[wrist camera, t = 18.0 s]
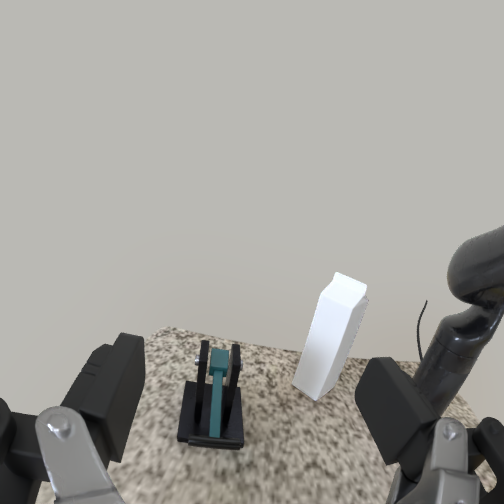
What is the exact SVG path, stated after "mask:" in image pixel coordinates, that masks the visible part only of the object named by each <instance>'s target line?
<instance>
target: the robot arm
mask: <svg viewBox="0 0 504 504" xmlns="http://www.w3.org/2000/svg"><path fill="white" fill-rule="evenodd" d="M447 281H448V286H449V289H450V291H451V293H452V294H453V295H454V296H455V297H456V298H457V299H459V300H460V301H462V302H465V303H469V304H472V306H471V307H470V308H469V309H467V310H466V311H464V312H461V313H458V314H454V315H449V316H446V317H444V318H443V319H442V320H441V322H440V324H439V326H438V328H437V330H436V333H435V335H434V337H433V339H432V341H431V343H430V345H429V347H428V350H427V352H426V354H425V356H424V358H423V357H422V353H421V347H420V340H419V324H420V320H421V317H422V314H423V312H424V310H425V308H426V305H427V301H426V303H425V306H424V308H423V310H422V312H421V314H420V317H419V320H418V325H417V342H418V350H419V355H420V360H421V363H420V365H419V367H418V369H417V371H416V373H415V375H414V376H413V378H411V377H410V376H409V375H408V374H406V373H405V372H404V371H402V370H401V369H400V367H399V366H398V365H397V364H396V362H395V361H394V360H393V359H392V358H391V357H380V358H379V357H378V358H372V359H370V361H369V362H368V364H367V366H366V369H365V371H364V373H363V375H362V377H361V379H360V381H359V383H358V385H357V387H356V390H355V402H356V404H357V406H358V408H359V410H360V412H361V414H362V416H363V418H364V420H365V422H366V424H367V426H368V429H369V431H370V433H371V435H372V437H373V439H374V441H375V443H376V445H377V447H378V449H379V451H380V453H381V455H382V458H383V460H384V462H385V464H386V466H387V465H390V464H394V463H397V462H399V464H400V466H399V467H398V468H397V470H396V472H395V476H394V479H393V482H392V486H391V489H390V492H389V495H388V498H387V501H386V504H504V426H503V425H502V424H501V423H500V422H499V421H498V420H497V419H495V418H491V417H486V418H484V419H483V420H482V421H481V422H480V424H479V425H478V426H477V427H476V428H465V427H464V425H463V424H462V423H461V422H459V421H458V420H456V419H454V418H450V417H444V418H441V416H442V414H443V413H444V411H445V410H446V409H447V407H448V406H449V404H450V403H451V401H452V400H453V398H454V397H455V395H456V394H457V392H458V391H459V389H460V388H461V386H462V384H463V383H464V381H465V380H466V378H467V376H468V374H469V373H470V371H471V369H472V367H473V366H474V364H475V362H476V360H477V358H478V357H479V354H480V353H481V351H482V349H483V348H484V346H485V345H486V344H487V343H488V342H489V341H490V340H491V338H492V337H493V335H494V333H495V331H496V329H497V327H498V325H499V323H500V321H501V319H502V317H503V315H504V225H503V226H501V227H499V228H497V229H495V230H493V231H490V232H487V233H484V234H482V235H479V236H476V237H473V238H471V239H469V240H467V241H465V242H464V243H463V244H462V245H461V246H460V247H459V248H458V249H457V250H456V252H455V254H454V255H453V257H452V259H451V261H450V264H449V267H448V272H447ZM144 383H145V352H144V338H143V337H141V336H136V335H131V334H126V333H120V335H119V336H118V338H117V339H116V341H115V343H114V345H113V346H112V345H108V344H104V345H102V346H100V347H99V348H97V349H96V350H94V351H93V352H92V354H91V356H90V357H89V359H88V360H87V363H86V364H85V365H84V367H83V368H82V370H81V372H80V373H79V375H78V377H77V378H76V380H75V381H74V383H73V385H72V386H71V388H70V390H69V391H68V393H67V395H66V396H65V398H64V400H63V402H62V403H61V405H60V406H55V407H50V408H47V409H46V410H44V411H43V412H41V413H40V414H39V416H35V415H28V414H22V413H15V412H11V411H10V409H9V407H8V405H7V403H6V402H5V401H4V400H3V399H2V398H0V504H35V502H36V499H37V495H38V492H39V488H40V485H41V482H42V481H46V482H51V484H52V487H53V490H54V492H55V496H56V500H54V504H125V502H124V501H123V499H122V497H121V496H120V494H119V492H118V491H117V489H116V487H115V486H114V484H113V482H112V480H111V478H110V476H109V475H108V473H107V469H108V465H109V462H110V460H111V461H115V462H118V463H121V460H122V456H123V453H124V449H125V446H126V442H127V439H128V435H129V432H130V429H131V425H132V422H133V419H134V416H135V413H136V409H137V406H138V403H139V400H140V397H141V394H142V391H143V388H144ZM485 459H486V461H487V462H488V464H489V466H490V467H491V469H492V471H493V472H494V474H495V476H496V478H497V484H496V486H495V488H494V489H493V490H491V491H490V492H489V493H488V492H486V491H485V489H484V487H483V485H482V483H481V482H480V479H479V476H477V474H476V473H475V471H474V470H475V469H476V468H477V467H478V466H479V465H480V464H481V463H482V462H483V461H484V460H485Z"/></svg>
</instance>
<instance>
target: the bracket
mask: <svg viewBox="0 0 504 504" xmlns="http://www.w3.org/2000/svg"><path fill="white" fill-rule="evenodd" d="M208 350H209V341H205V340H202V342H201V349H200V355H196V358H195V365H197V366H198V376H197V382H191V381H186V383H185V389H184V395H183V402H182V408H181V414H180V421H179V428H178V435H177V441H179V442H186V443H188V440H189V434H196V435H205V436H209V433H210V416H211V401H212V387H213V384H206V383H205V378H206V369H207V361H208ZM242 368H243V360H241V357H240V345H238V344H232V348H231V354H230V359H229V365H228V371H227V376H226V382H225V386H223V385H222V400H221V422H220V437H225V438H239V439H240V441H241V445H240V448H243V445H244V434H243V420H242V406H241V391H240V387H237V383H238V378H239V373H240V371H242Z"/></svg>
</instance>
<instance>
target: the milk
mask: <svg viewBox="0 0 504 504" xmlns="http://www.w3.org/2000/svg"><path fill="white" fill-rule="evenodd" d="M366 289H367V285H366V284H364V283H362V282H359V281H357V280H355V279H352V278H350V277H347V276H345V275H343V274H341V273H338V272H336V273H335V275H334V278H333V281H332V282H331V283H330V284H329V285H328V286H327V287H326V288H325V289H324V290H323V291H322V292H321V294H320V298H319V301H318V305H317V308H316V311H315V314H314V318H313V321H312V324H311V328H310V331H309V334H308V337H307V340H306V344H305V346H304V349H303V352H302V355H301V358H300V361H299V364H298V367H297V370H296V373H295V376H294V378H293V381H292V385H293V386H295V387H296V388H298V389H299V390H300V391H302V392H303V393H305V394H306V395H308V396H309V397H310V398H312V399H313V400H315V401H317V400H318V399H320V398H321V397H322V396H324V395H325V394H326V393H327V392H329V391H330V390H331V389H332V388H334V386H335V384H336V381H337V379H338V377H339V375H340V372H341V370H342V368H343V366H344V363H345V361H346V359H347V356H348V354H349V351H350V349H351V347H352V344H353V342H354V339H355V336H356V334H357V331H358V329H359V326H360V323H361V321H362V318H363V315H364V312H365V309H366V306H367V304H368V299H367V297H366V296H365V292H366Z"/></svg>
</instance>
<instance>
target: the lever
mask: <svg viewBox="0 0 504 504" xmlns="http://www.w3.org/2000/svg"><path fill="white" fill-rule="evenodd" d="M228 360H229V350H222V349H214V348H212V351H211V357H210V368H209V375H210V376H213V387H212V401H211V416H210V433H209V436H205V435H196V434H189V440H188V445H189V446H196V447H205V448H214V449H227V450H240V445H241V441H240V439H239V438H225V437H220V422H221V400H222V380H223V377H226V375H227V371H228Z"/></svg>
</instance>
